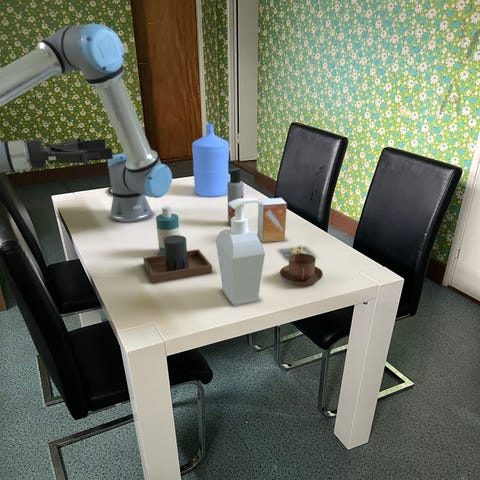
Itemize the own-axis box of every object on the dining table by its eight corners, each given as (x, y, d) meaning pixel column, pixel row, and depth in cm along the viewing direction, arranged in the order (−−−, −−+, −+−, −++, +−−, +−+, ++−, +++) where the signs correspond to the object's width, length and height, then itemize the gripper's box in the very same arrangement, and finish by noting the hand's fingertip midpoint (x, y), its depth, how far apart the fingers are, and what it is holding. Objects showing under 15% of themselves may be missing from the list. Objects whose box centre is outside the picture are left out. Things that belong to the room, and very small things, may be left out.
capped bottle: (157, 250, 150) (152, 205, 142) (178, 247, 152) (174, 202, 144) (162, 258, 144) (157, 212, 136) (183, 255, 146) (180, 209, 139)
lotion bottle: (241, 227, 168) (241, 170, 157) (226, 226, 169) (225, 170, 158) (244, 221, 172) (244, 166, 162) (229, 220, 173) (228, 166, 163)
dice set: (292, 258, 144) (292, 252, 143) (286, 252, 148) (286, 246, 147) (307, 256, 145) (308, 250, 144) (301, 250, 149) (301, 244, 148)
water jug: (216, 199, 196) (214, 128, 182) (187, 193, 204) (182, 125, 189) (236, 190, 207) (236, 123, 193) (208, 185, 215) (205, 120, 200)
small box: (262, 243, 155) (263, 204, 148) (257, 236, 160) (257, 199, 153) (285, 240, 156) (287, 202, 149) (279, 234, 162) (281, 197, 155)
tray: (144, 265, 140) (143, 257, 139) (199, 256, 146) (198, 249, 144) (153, 283, 130) (152, 275, 129) (212, 273, 135) (211, 265, 134)
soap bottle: (269, 302, 120) (273, 204, 107) (233, 309, 117) (232, 210, 104) (251, 282, 130) (252, 190, 117) (217, 288, 127) (214, 195, 114)
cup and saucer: (329, 284, 129) (331, 264, 125) (289, 291, 126) (290, 270, 122) (311, 267, 138) (313, 248, 135) (273, 272, 136) (274, 253, 132)
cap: (164, 265, 139) (161, 236, 134) (184, 261, 141) (182, 233, 136) (169, 273, 134) (166, 244, 129) (190, 270, 136) (188, 241, 131)
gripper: (31, 159, 137) (104, 153, 144) (32, 180, 117) (117, 172, 124) (25, 132, 133) (100, 127, 140) (25, 149, 113) (113, 142, 120)
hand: (108, 148), depth 132 cm, fingers open, 13 cm apart
